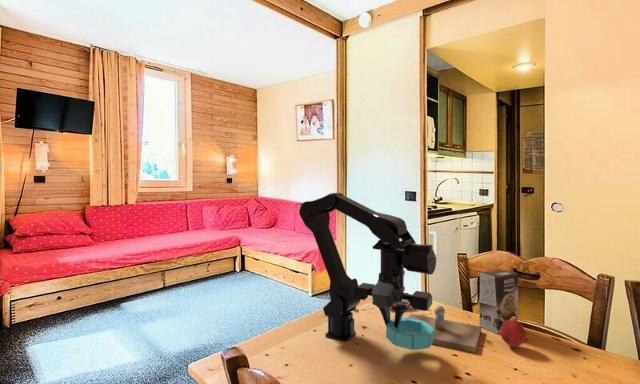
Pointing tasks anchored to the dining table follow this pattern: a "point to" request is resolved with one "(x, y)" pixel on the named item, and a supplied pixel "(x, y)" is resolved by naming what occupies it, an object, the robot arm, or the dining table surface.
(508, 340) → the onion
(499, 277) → the coffee box
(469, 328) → the hook board
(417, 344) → the teal octagonal ring
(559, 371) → the dining table surface
